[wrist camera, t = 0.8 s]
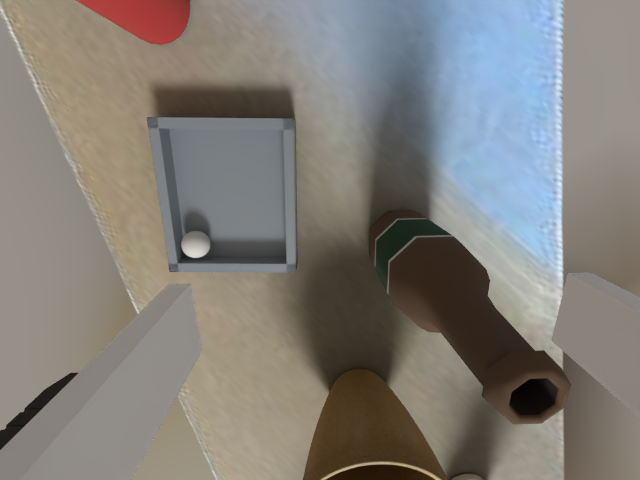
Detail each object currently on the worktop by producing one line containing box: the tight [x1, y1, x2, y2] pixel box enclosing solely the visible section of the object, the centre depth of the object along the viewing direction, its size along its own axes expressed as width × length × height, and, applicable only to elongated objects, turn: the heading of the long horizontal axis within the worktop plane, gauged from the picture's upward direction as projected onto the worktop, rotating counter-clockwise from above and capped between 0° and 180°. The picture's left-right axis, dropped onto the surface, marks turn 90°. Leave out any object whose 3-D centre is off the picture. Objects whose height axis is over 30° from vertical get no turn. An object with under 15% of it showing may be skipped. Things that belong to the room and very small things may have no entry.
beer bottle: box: [369, 211, 571, 424], centre depth 25 cm, size 8×8×24 cm
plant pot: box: [303, 369, 448, 480], centre depth 35 cm, size 15×15×16 cm
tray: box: [147, 117, 297, 272], centre depth 33 cm, size 16×14×3 cm
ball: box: [181, 231, 211, 258], centre depth 34 cm, size 3×3×3 cm
